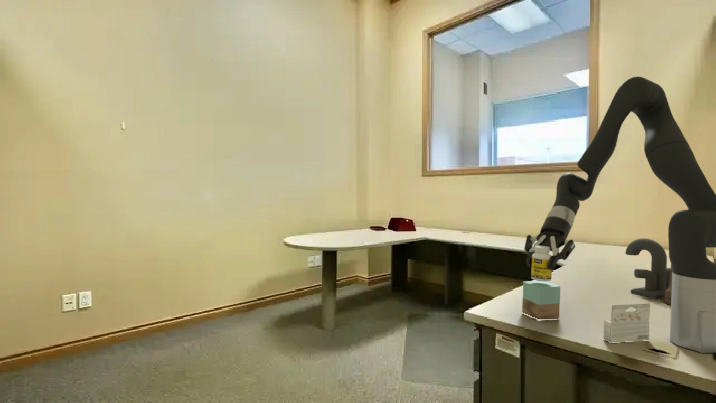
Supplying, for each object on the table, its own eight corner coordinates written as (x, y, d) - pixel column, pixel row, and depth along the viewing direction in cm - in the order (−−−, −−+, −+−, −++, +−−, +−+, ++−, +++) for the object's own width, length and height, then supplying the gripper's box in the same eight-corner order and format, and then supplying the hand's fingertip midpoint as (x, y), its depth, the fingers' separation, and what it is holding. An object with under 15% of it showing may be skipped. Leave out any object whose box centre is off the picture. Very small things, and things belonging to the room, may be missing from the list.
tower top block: (559, 303, 107) (560, 286, 107) (539, 305, 105) (539, 287, 105) (542, 296, 114) (542, 280, 113) (522, 297, 112) (523, 281, 112)
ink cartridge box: (602, 340, 93) (603, 302, 92) (640, 338, 94) (642, 300, 94) (610, 344, 90) (612, 305, 90) (649, 342, 92) (651, 303, 92)
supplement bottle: (530, 280, 108) (531, 247, 108) (531, 276, 113) (532, 244, 113) (551, 282, 106) (552, 248, 105) (551, 278, 111) (552, 246, 110)
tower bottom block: (559, 320, 107) (559, 303, 107) (538, 322, 105) (539, 304, 105) (541, 312, 114) (542, 296, 114) (522, 314, 112) (522, 297, 112)
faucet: (640, 284, 150) (641, 235, 150) (686, 294, 135) (688, 240, 135) (609, 288, 144) (611, 237, 143) (654, 299, 129) (656, 242, 128)
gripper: (531, 214, 119) (511, 254, 112) (579, 217, 108) (560, 262, 101) (539, 229, 122) (519, 269, 115) (586, 233, 111) (568, 278, 104)
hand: (538, 266), depth 108 cm, fingers closed on supplement bottle, 5 cm apart
